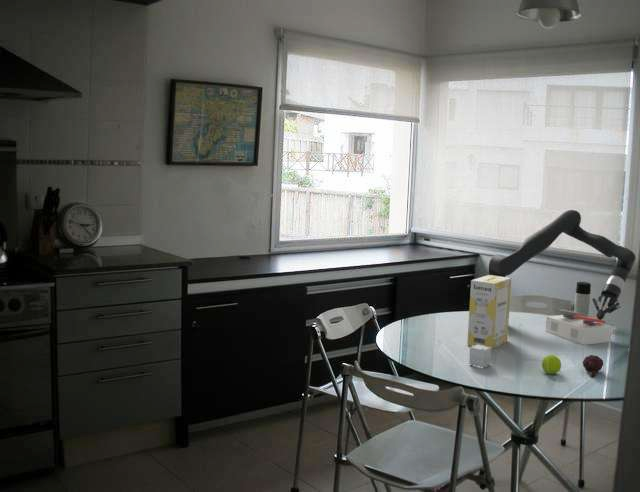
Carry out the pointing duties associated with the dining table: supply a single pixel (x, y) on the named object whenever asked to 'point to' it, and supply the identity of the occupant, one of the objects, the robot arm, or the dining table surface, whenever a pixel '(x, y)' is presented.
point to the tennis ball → (551, 364)
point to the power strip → (579, 329)
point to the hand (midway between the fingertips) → (599, 318)
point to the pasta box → (489, 311)
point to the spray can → (582, 298)
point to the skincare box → (480, 355)
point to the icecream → (593, 364)
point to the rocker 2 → (589, 318)
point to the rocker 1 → (568, 312)
